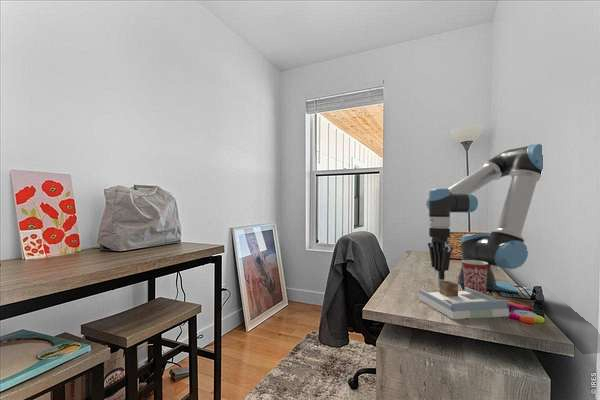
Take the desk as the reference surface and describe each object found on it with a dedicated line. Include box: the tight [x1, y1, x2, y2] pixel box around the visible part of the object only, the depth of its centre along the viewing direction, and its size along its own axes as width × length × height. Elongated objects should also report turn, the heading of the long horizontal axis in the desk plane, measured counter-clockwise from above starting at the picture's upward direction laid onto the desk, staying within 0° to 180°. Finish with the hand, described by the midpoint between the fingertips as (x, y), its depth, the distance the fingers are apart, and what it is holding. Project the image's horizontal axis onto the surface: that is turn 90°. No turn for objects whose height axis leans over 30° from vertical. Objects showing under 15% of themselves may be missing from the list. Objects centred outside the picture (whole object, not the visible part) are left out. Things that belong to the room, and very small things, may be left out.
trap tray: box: [418, 287, 510, 320], centre depth 104 cm, size 20×20×5 cm
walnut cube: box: [439, 280, 459, 297], centre depth 111 cm, size 4×4×4 cm
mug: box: [461, 260, 488, 295], centre depth 120 cm, size 13×9×14 cm
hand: (440, 286), depth 116 cm, fingers closed
